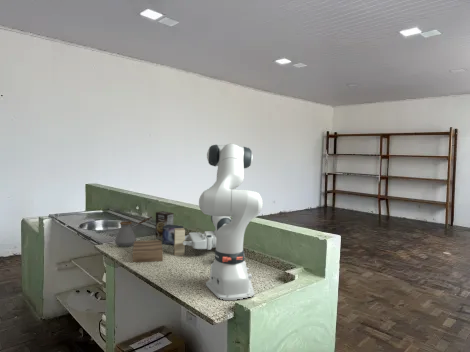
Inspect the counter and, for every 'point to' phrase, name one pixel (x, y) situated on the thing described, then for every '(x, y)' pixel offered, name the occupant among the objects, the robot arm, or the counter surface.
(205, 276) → the counter surface
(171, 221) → the coffee box
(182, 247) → the birch block
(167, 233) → the small box
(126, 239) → the coffee pot
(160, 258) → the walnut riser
